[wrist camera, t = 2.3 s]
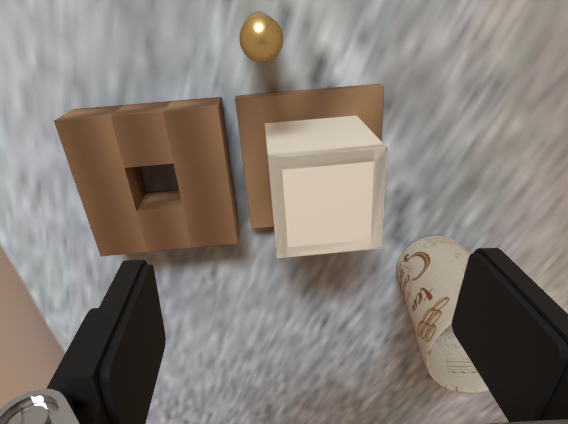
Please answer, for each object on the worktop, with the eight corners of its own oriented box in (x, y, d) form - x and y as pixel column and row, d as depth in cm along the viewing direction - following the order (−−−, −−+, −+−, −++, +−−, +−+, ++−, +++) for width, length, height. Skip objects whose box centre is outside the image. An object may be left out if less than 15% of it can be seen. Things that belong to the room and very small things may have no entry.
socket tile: (221, 97, 27) (217, 107, 24) (238, 223, 32) (237, 243, 29) (73, 109, 27) (53, 120, 24) (113, 235, 31) (100, 256, 29)
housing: (356, 115, 27) (387, 148, 21) (355, 198, 30) (381, 248, 24) (264, 123, 27) (268, 158, 21) (272, 205, 30) (277, 258, 24)
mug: (421, 207, 32) (484, 284, 23) (529, 262, 36) (620, 347, 27) (364, 281, 35) (401, 373, 27) (468, 325, 39) (532, 419, 30)
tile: (379, 83, 27) (410, 102, 22) (373, 211, 32) (397, 251, 27) (235, 95, 27) (231, 118, 22) (251, 222, 32) (250, 265, 26)
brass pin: (273, 10, 25) (281, 13, 18) (276, 45, 26) (284, 60, 19) (241, 13, 25) (236, 16, 18) (245, 47, 26) (242, 63, 19)
